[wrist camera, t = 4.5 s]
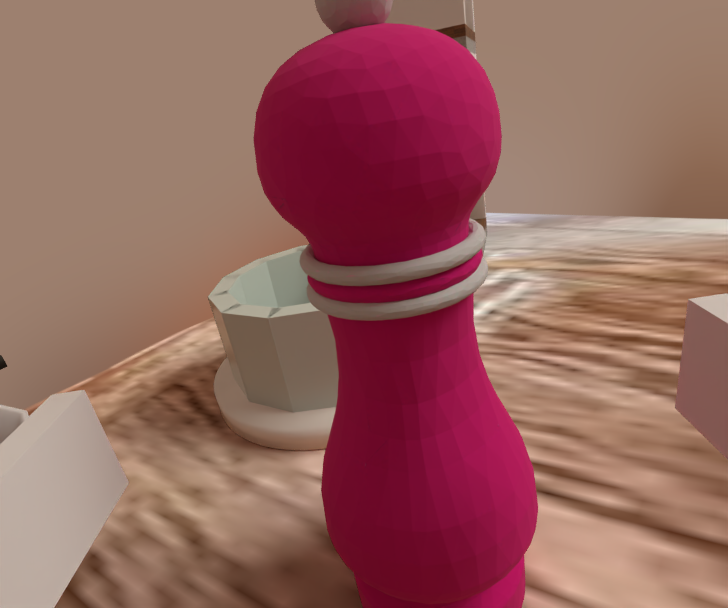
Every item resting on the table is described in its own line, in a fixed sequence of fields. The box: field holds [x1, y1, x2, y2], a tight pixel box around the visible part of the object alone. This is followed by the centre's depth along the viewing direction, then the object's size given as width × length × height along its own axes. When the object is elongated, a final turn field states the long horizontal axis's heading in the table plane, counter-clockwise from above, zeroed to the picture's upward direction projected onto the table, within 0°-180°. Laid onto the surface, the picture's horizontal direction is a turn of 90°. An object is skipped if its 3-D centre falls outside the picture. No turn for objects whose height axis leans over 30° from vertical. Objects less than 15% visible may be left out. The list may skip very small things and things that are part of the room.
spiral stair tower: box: [333, 0, 487, 253], centre depth 46 cm, size 11×11×35 cm
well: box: [208, 245, 339, 450], centre depth 32 cm, size 16×16×8 cm
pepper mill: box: [254, 0, 538, 608], centre depth 14 cm, size 7×7×20 cm
